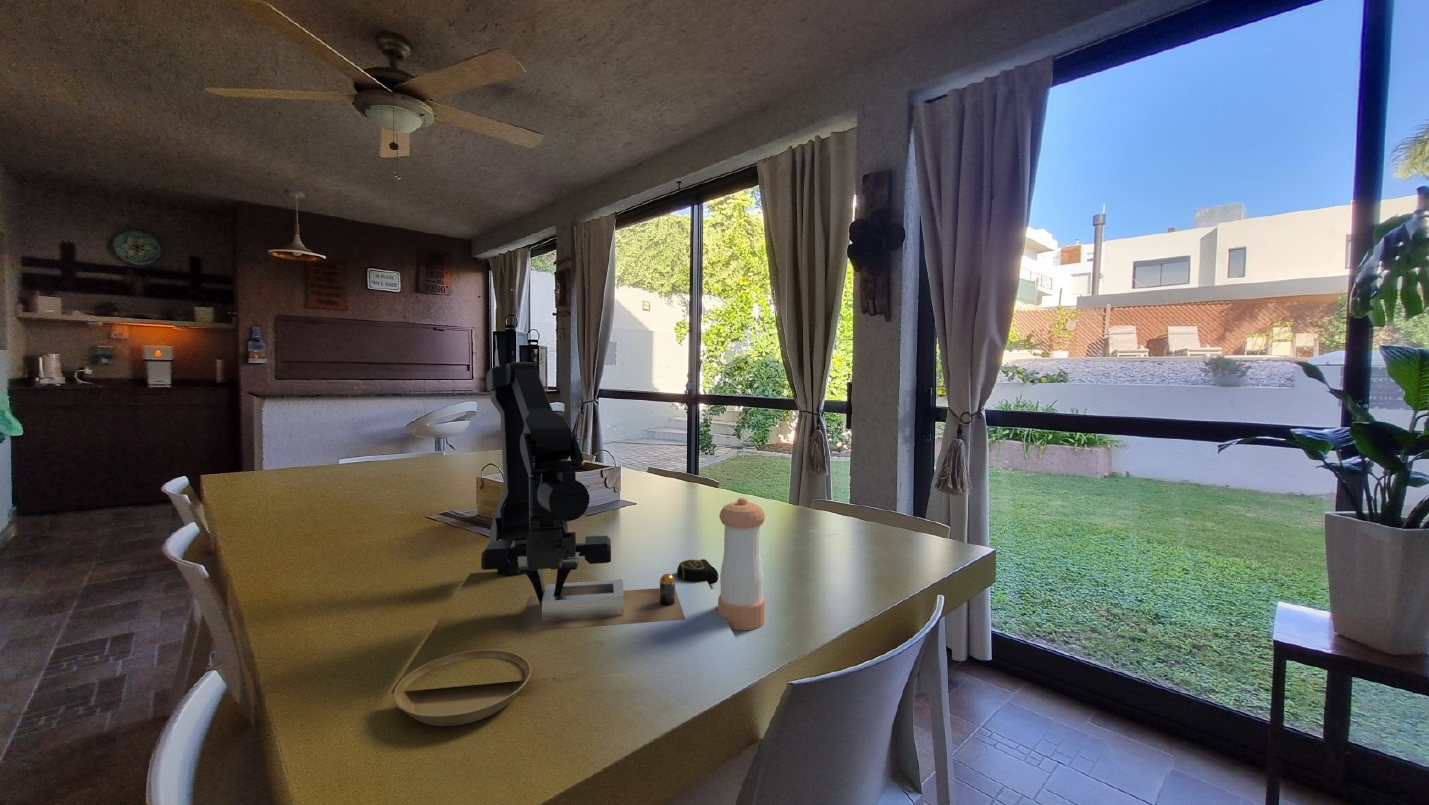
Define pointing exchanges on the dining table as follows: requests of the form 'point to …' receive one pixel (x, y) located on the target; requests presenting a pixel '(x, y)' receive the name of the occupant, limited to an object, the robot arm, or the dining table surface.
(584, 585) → the grey rectangular frame
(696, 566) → the tape measure
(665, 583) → the keeper stud
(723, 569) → the pepper shaker
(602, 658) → the dining table surface
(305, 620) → the dining table surface
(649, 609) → the keeper board
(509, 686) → the plant saucer
